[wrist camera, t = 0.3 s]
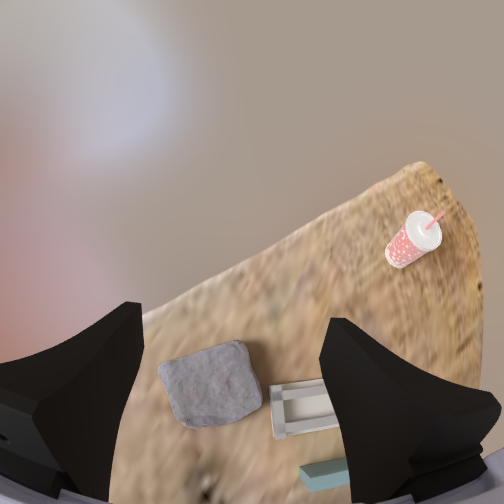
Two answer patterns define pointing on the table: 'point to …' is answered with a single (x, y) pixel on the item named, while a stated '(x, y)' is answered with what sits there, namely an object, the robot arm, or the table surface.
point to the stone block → (212, 385)
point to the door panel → (325, 474)
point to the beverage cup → (414, 239)
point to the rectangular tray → (300, 408)
